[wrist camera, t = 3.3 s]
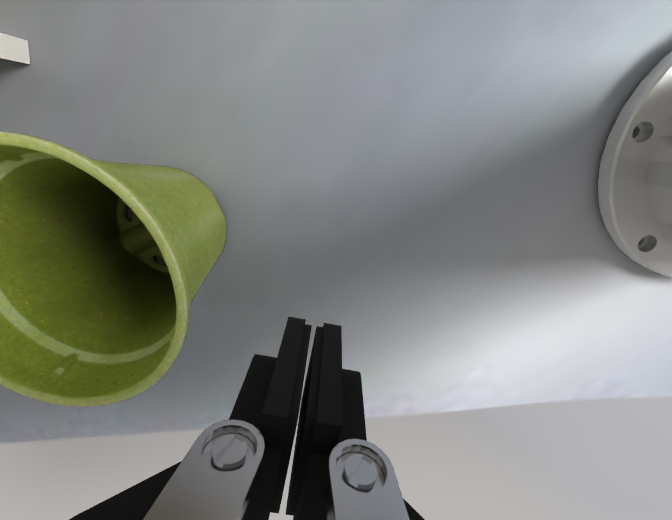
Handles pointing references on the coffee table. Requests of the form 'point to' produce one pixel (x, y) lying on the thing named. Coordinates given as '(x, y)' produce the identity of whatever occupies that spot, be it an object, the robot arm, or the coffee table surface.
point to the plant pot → (96, 270)
